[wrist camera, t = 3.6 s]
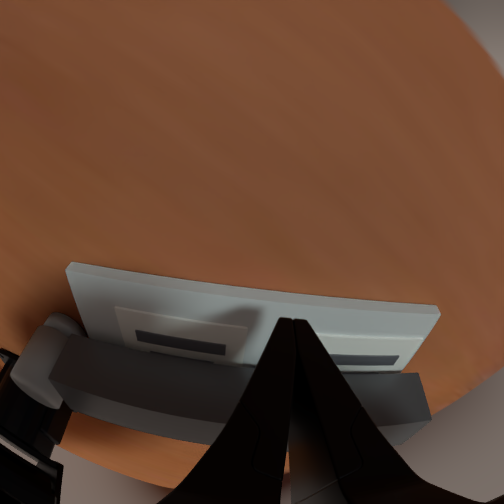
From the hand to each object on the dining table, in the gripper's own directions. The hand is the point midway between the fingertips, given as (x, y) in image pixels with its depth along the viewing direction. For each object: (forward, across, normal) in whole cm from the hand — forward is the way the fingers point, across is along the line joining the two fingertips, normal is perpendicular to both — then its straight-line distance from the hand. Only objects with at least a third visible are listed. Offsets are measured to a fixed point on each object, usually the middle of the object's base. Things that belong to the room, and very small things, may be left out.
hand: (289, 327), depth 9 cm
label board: (+3, +3, +6) cm, 7 cm away
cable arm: (+1, +3, +6) cm, 6 cm away
